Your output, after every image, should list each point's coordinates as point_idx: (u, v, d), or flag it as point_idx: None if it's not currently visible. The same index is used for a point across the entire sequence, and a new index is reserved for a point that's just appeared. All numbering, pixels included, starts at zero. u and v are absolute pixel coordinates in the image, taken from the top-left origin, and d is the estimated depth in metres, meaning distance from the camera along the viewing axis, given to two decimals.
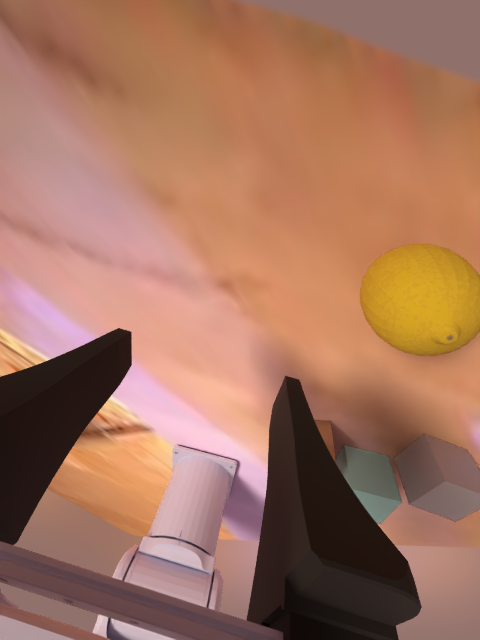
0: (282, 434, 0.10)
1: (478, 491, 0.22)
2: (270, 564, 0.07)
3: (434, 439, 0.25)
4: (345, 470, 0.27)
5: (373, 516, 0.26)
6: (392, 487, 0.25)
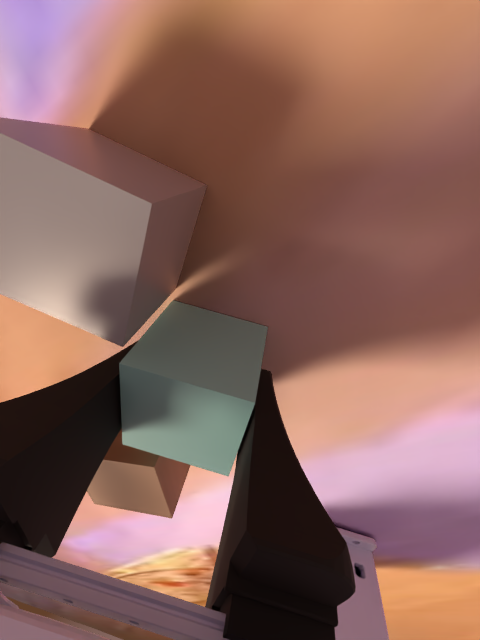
0: (248, 424, 0.10)
1: None
2: (224, 550, 0.07)
3: None
4: None
5: (220, 416, 0.09)
6: None
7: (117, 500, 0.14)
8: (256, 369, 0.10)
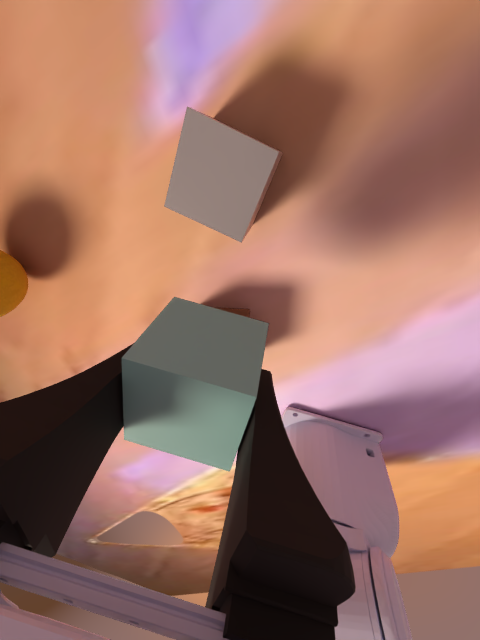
0: (248, 424, 0.10)
1: (179, 144, 0.13)
2: (224, 550, 0.07)
3: None
4: None
5: (221, 410, 0.09)
6: None
7: None
8: (257, 364, 0.10)
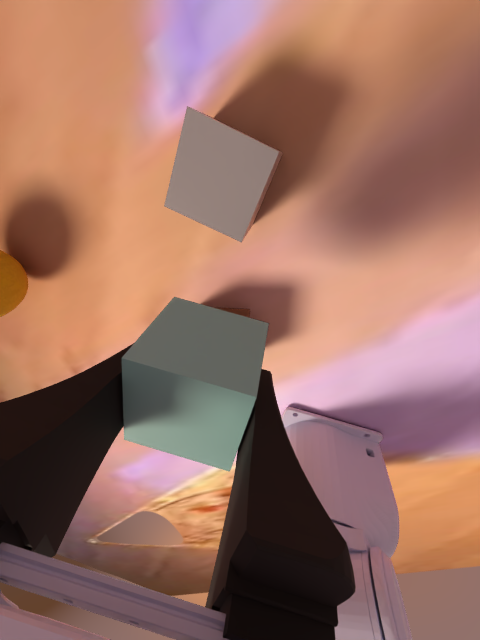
0: (248, 424, 0.10)
1: (179, 144, 0.13)
2: (224, 550, 0.07)
3: None
4: None
5: (221, 410, 0.09)
6: None
7: None
8: (257, 364, 0.10)
